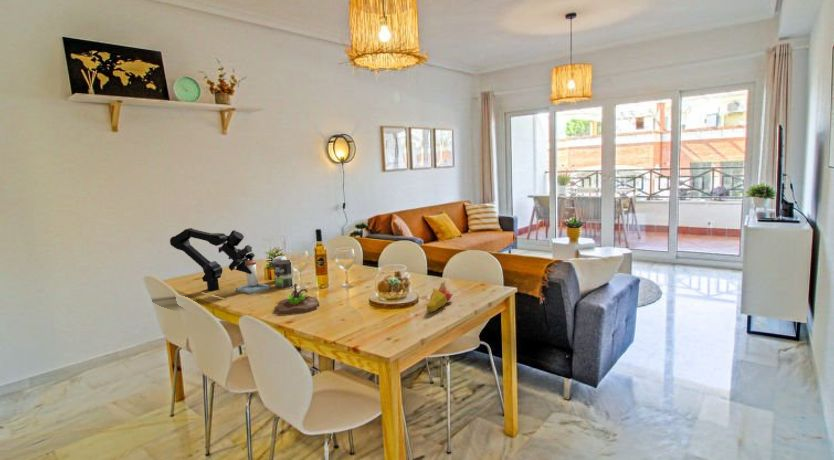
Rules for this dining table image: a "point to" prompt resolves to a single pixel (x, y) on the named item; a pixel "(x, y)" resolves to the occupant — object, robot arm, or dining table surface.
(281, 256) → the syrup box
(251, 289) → the tray
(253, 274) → the shaker
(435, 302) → the flower bouquet
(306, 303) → the plant
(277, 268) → the coffee can
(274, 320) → the dining table surface
